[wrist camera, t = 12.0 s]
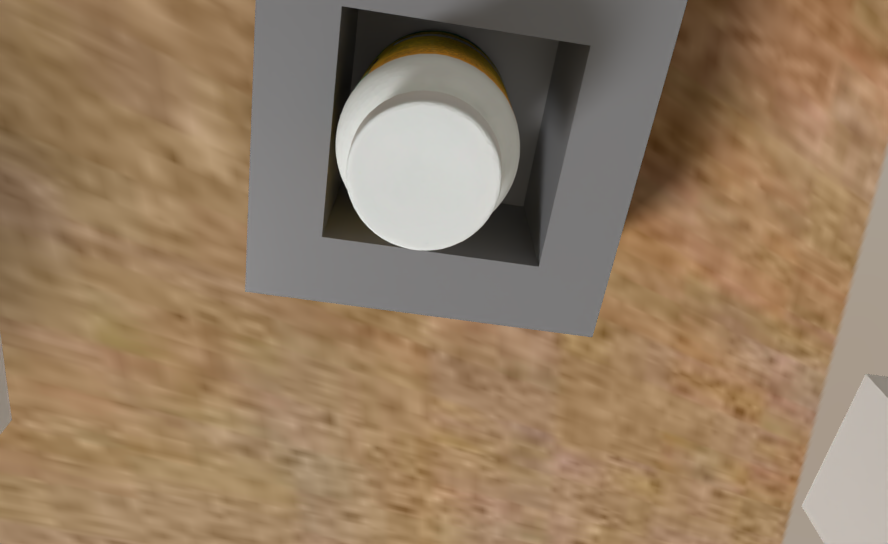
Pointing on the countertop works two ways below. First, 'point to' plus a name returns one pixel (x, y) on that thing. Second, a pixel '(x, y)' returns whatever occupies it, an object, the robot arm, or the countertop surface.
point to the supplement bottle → (428, 141)
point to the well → (537, 178)
